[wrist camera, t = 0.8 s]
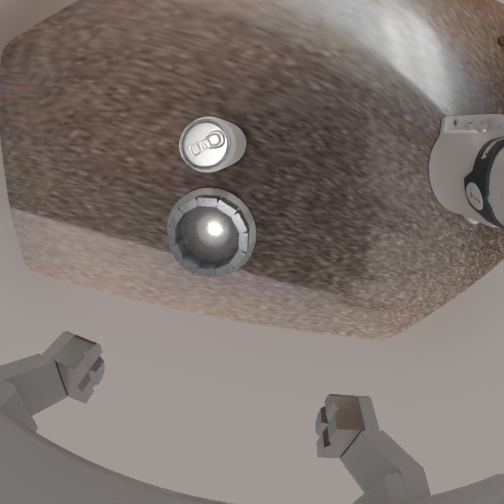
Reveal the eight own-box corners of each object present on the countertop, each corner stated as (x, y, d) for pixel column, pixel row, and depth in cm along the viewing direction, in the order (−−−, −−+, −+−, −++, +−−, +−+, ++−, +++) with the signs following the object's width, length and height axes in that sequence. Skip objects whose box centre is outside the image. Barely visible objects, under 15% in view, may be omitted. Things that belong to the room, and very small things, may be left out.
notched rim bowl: (230, 171, 42) (226, 173, 39) (271, 253, 46) (271, 261, 43) (154, 211, 46) (145, 217, 42) (195, 285, 49) (190, 294, 46)
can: (254, 155, 41) (243, 159, 30) (213, 172, 43) (189, 184, 31) (235, 115, 39) (219, 104, 28) (196, 134, 41) (166, 132, 30)
